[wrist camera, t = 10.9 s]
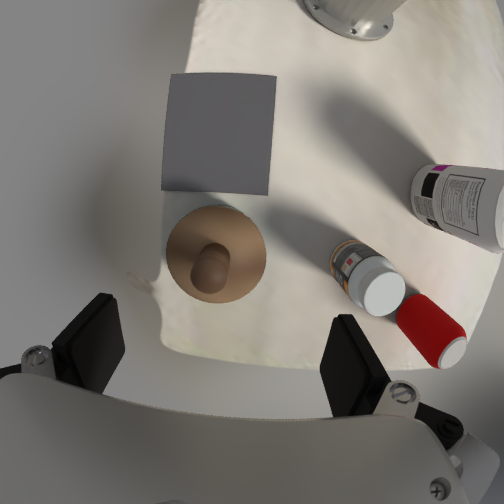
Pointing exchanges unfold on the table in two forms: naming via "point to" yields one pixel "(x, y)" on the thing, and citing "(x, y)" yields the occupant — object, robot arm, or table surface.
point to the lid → (216, 254)
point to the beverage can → (431, 331)
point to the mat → (219, 133)
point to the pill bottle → (367, 277)
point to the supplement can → (462, 203)
